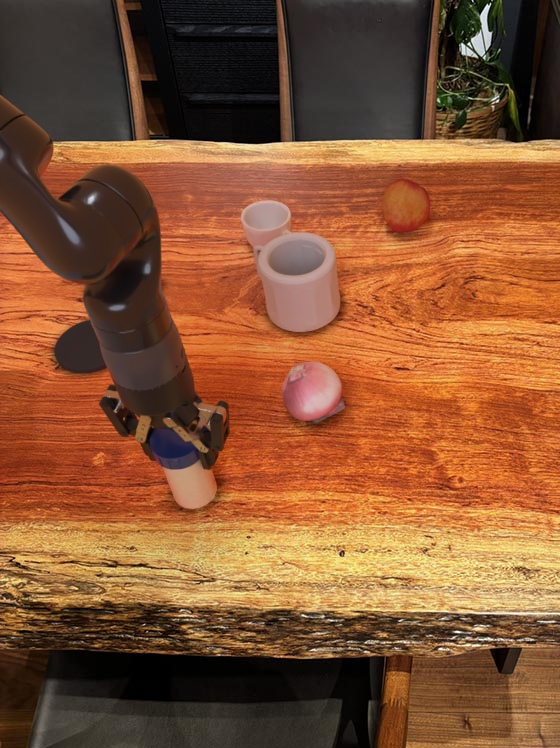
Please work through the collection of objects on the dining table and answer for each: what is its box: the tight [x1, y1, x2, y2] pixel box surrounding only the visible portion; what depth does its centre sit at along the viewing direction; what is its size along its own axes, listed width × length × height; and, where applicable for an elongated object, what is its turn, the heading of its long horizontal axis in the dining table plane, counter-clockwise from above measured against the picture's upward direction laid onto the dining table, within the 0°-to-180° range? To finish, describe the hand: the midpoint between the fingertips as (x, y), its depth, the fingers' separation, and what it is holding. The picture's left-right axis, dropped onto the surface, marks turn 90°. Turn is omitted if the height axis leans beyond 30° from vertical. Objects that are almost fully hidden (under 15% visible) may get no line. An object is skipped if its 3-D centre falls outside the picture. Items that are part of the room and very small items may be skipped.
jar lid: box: [149, 425, 203, 470], centre depth 89 cm, size 6×6×2 cm
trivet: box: [53, 319, 108, 375], centre depth 113 cm, size 10×10×1 cm
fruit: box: [381, 177, 431, 234], centre depth 126 cm, size 8×8×8 cm
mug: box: [252, 231, 341, 333], centre depth 114 cm, size 14×11×10 cm
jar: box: [161, 460, 218, 510], centre depth 93 cm, size 5×5×10 cm
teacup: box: [240, 199, 293, 248], centre depth 125 cm, size 10×8×5 cm
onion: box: [280, 360, 346, 424], centre depth 102 cm, size 8×8×7 cm
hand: (183, 458), depth 91 cm, fingers closed on jar lid, 6 cm apart
